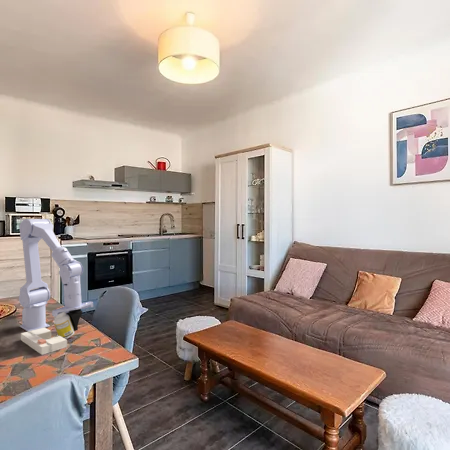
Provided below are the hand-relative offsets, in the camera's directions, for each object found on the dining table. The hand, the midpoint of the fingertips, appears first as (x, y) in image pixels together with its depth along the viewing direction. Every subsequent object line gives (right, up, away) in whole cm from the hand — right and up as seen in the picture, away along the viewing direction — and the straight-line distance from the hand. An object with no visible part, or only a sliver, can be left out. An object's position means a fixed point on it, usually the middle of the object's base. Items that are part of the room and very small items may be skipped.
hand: (74, 330), depth 118 cm
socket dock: (-8, -2, -7) cm, 11 cm away
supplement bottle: (-2, -2, -1) cm, 3 cm away
